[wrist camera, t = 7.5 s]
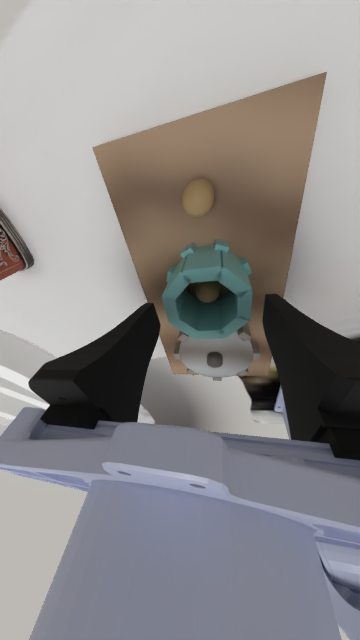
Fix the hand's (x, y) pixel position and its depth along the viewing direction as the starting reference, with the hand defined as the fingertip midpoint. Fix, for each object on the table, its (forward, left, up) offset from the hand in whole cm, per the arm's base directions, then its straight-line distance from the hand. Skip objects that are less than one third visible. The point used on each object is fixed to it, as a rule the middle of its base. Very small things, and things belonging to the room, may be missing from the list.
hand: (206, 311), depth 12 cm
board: (-2, 0, -5) cm, 6 cm away
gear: (0, 0, -4) cm, 4 cm away
